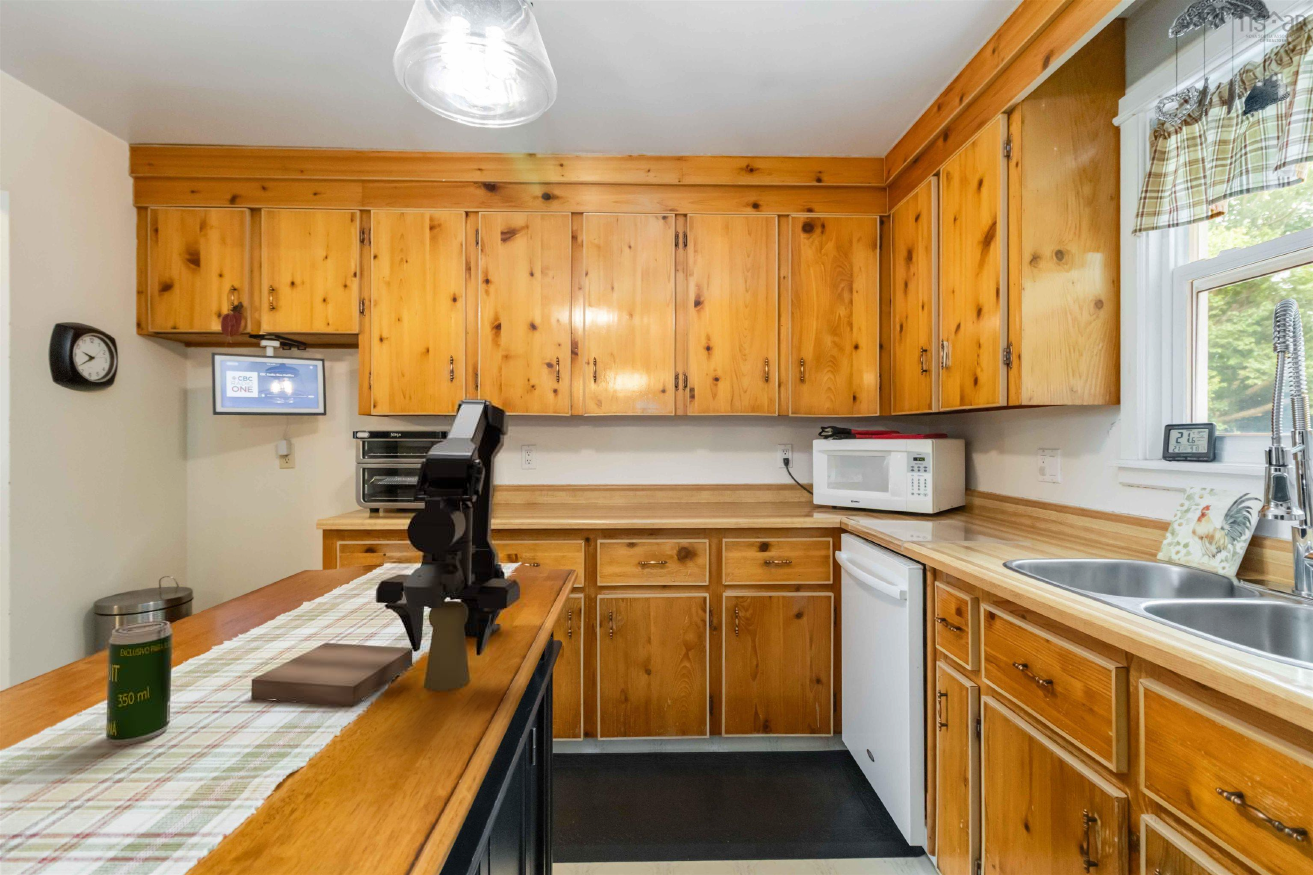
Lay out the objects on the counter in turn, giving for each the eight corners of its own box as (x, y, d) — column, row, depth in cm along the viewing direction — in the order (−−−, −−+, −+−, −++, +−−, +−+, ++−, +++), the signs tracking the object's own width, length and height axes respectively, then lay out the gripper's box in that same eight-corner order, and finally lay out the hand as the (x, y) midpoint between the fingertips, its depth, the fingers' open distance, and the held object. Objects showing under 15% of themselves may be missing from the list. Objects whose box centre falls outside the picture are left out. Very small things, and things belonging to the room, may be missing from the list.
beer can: (164, 718, 69) (167, 617, 69) (174, 733, 66) (177, 626, 66) (102, 735, 65) (105, 627, 65) (109, 752, 62) (113, 638, 62)
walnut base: (325, 659, 89) (325, 642, 89) (412, 664, 87) (412, 647, 87) (251, 698, 75) (251, 679, 75) (352, 706, 73) (353, 686, 73)
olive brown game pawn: (455, 692, 78) (457, 610, 78) (414, 688, 79) (416, 606, 79) (478, 675, 83) (479, 598, 84) (439, 671, 85) (441, 595, 85)
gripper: (351, 548, 74) (348, 670, 74) (491, 553, 72) (488, 680, 72) (399, 534, 85) (397, 641, 85) (522, 539, 83) (520, 648, 83)
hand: (447, 652), depth 81 cm, fingers open, 9 cm apart
